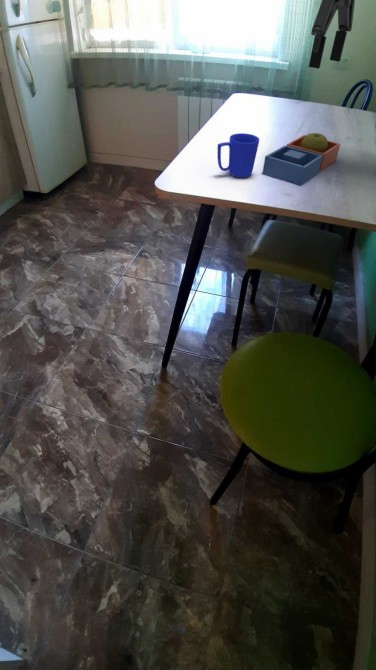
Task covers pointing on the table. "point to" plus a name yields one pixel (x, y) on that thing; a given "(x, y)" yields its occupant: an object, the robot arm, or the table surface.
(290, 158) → the block
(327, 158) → the red bin
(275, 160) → the blue bin
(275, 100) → the table surface
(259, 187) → the table surface
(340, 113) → the table surface
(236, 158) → the mug
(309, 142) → the apple
